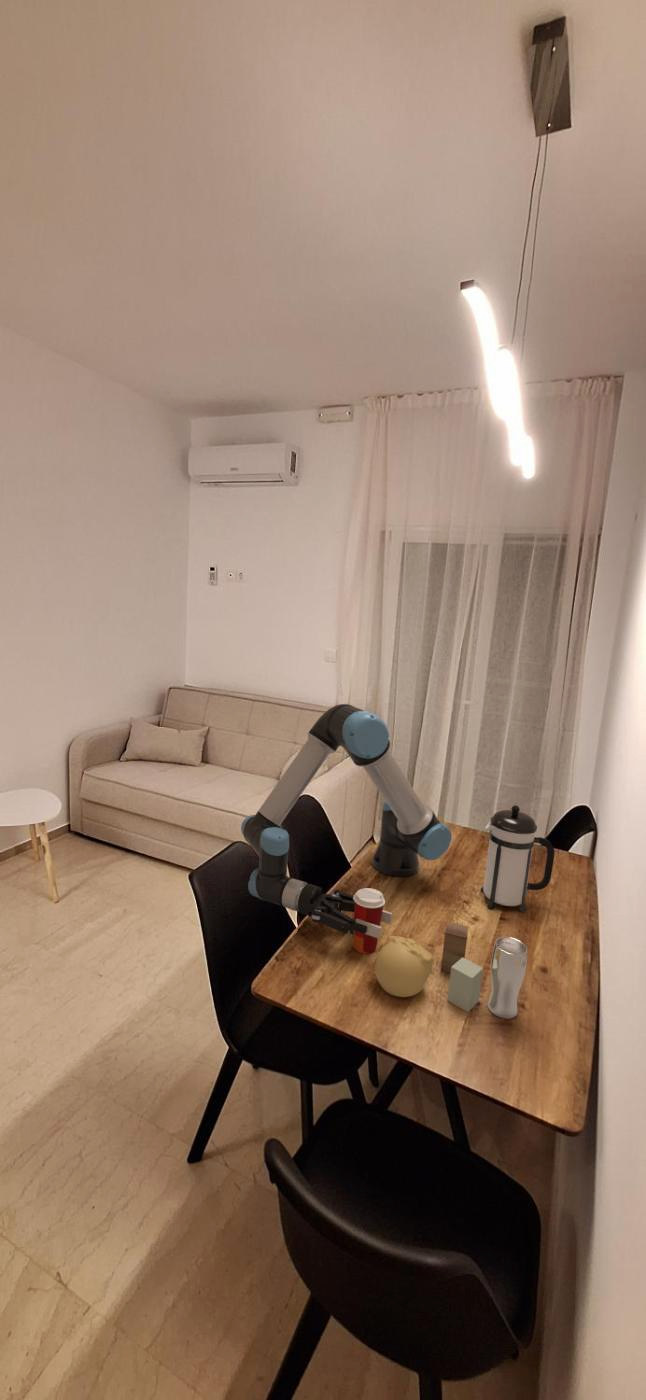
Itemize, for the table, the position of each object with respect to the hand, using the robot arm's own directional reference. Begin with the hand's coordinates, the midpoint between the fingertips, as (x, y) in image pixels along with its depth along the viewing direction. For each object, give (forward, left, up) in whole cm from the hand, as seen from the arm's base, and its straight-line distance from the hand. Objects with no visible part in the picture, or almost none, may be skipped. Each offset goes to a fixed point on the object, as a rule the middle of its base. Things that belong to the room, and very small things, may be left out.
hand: (386, 925), depth 136 cm
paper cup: (0, -5, -8) cm, 9 cm away
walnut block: (-4, +16, -8) cm, 18 cm away
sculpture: (+9, +8, -8) cm, 14 cm away
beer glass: (+4, +29, -8) cm, 30 cm away
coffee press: (-45, +22, -8) cm, 51 cm away
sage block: (+6, +21, -8) cm, 23 cm away
